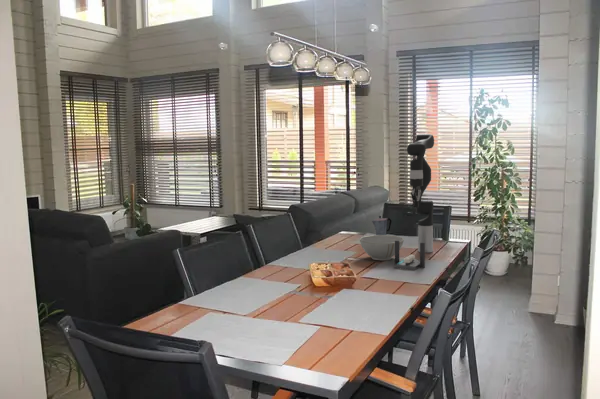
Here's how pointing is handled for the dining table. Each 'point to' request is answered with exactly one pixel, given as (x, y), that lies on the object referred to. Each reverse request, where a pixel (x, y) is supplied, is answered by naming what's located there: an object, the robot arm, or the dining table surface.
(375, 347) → the dining table surface
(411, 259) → the paddles
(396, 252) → the dark gray rounded rod
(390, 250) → the decorative bowl
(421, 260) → the cord post
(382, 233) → the moka pot
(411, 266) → the panel
